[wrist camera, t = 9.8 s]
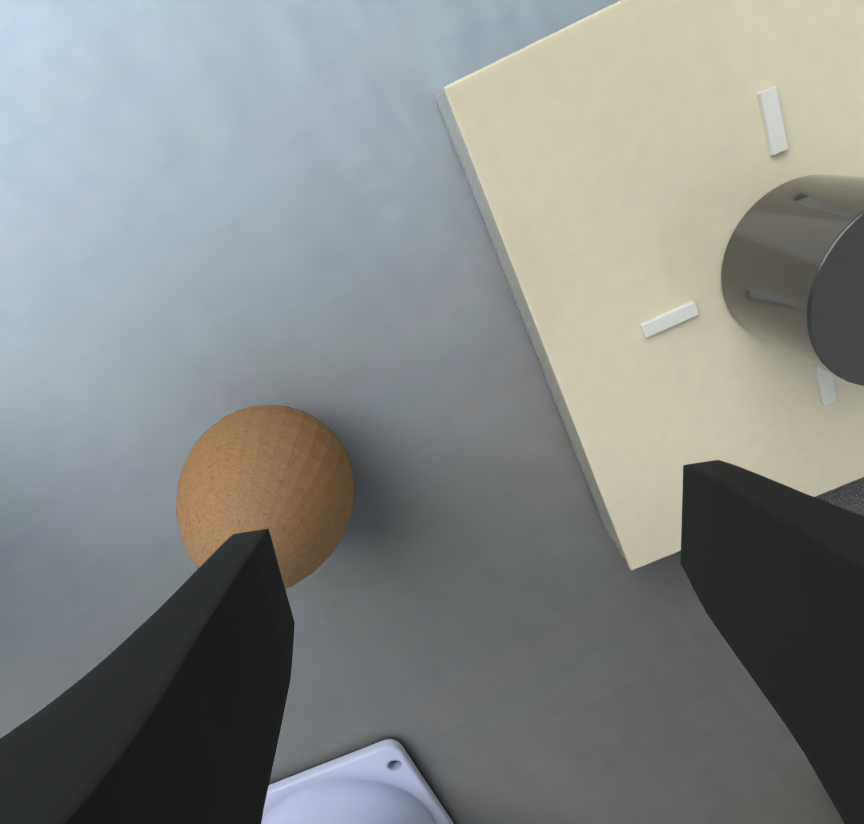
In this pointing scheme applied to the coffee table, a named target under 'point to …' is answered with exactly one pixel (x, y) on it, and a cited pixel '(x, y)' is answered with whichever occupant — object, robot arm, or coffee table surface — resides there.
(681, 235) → the cream dial panel
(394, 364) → the coffee table surface
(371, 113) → the coffee table surface
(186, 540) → the egg
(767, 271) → the knob
